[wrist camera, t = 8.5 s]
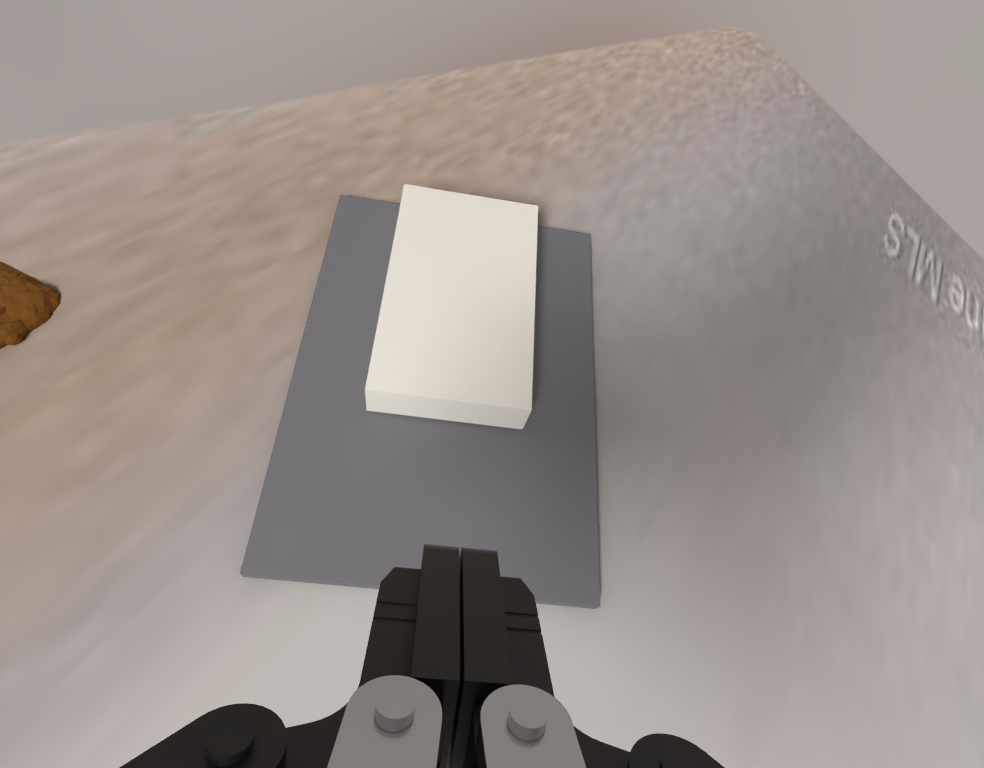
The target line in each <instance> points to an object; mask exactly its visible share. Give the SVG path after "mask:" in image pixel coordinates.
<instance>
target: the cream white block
mask: <svg viewBox="0 0 984 768" xmlns="http://www.w3.org/2000/svg"><path fill="white" fill-rule="evenodd" d="M537 228H538V206H536V205H530V204H524V203H518V202H512V201H505V200H499V199H493V198H487V197H481V196H474V195H468V194H462V193H456V192H450V191H444V190H437V189H431V188H425V187H419V186H413V185H406V184H404V188H403V193H402V199H401V204H400V209H399V214H398V219H397V225H396V230H395V235H394V240H393V245H392V251H391V256H390V261H389V266H388V271H387V277H386V282H385V287H384V292H383V298H382V303H381V308H380V313H379V318H378V324H377V329H376V334H375V339H374V344H373V350H372V355H371V360H370V365H369V370H368V376H367V381H366V386H365V397H366V410H367V411H374V412H382V413H391V414H399V415H407V416H415V417H424V418H432V419H440V420H448V421H456V422H465V423H473V424H481V425H489V426H498V427H506V428H514V429H523V427H524V425H525V423H526V421H527V419H528V417H529V415H530V413H531V411H532V384H533V353H534V322H535V290H536V259H537Z"/></svg>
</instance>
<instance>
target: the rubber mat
mask: <svg viewBox="0 0 984 768" xmlns="http://www.w3.org/2000/svg"><path fill="white" fill-rule="evenodd" d="M399 209H400V204H395V203H389V202H382V201H376V200H370V199H363V198H357V197H351V196H344V195H340V198H339V202H338V205H337V209H336V213H335V217H334V221H333V224H332V228H331V232H330V236H329V239H328V243H327V247H326V251H325V255H324V258H323V262H322V266H321V270H320V273H319V277H318V281H317V285H316V289H315V292H314V296H313V300H312V304H311V307H310V311H309V315H308V319H307V322H306V326H305V330H304V334H303V338H302V341H301V345H300V349H299V353H298V356H297V360H296V364H295V368H294V372H293V375H292V379H291V383H290V387H289V390H288V394H287V398H286V402H285V406H284V409H283V413H282V417H281V421H280V424H279V428H278V432H277V436H276V440H275V443H274V447H273V451H272V455H271V458H270V462H269V466H268V470H267V474H266V477H265V481H264V485H263V489H262V492H261V496H260V500H259V504H258V507H257V511H256V515H255V519H254V523H253V526H252V530H251V534H250V538H249V541H248V545H247V549H246V553H245V557H244V560H243V564H242V568H241V572H240V574H241V575H242V576H243V577H254V578H265V579H276V580H287V581H298V582H309V583H320V584H331V585H342V586H353V587H364V588H375V589H379V588H380V583H381V581H382V580H383V579H384V578H385V577H386V576H387V575H388V574H389V572H390V571H391V570H392V569H393V568H394V567H402V568H413V569H421V563H422V555H423V547H424V544H431V545H441V546H452V547H459V558H460V552H461V548H462V547H463V548H474V549H484V550H495V551H497V553H498V561H499V569H500V576H501V577H512V578H521V579H522V581H523V582H524V583H525V584H526V586H527V587H528V588H529V590H530V591H531V592H532V593H533V595H534V597H535V602H536V603H540V604H551V605H562V606H573V607H584V608H595V609H596V608H598V607H600V575H599V539H598V502H597V466H596V429H595V393H594V357H593V320H592V284H591V247H590V234H585V233H578V232H572V231H566V230H559V229H553V228H547V227H540V226H538V228H537V259H536V290H535V322H534V353H533V384H532V411H531V413H530V415H529V417H528V419H527V421H526V423H525V425H524V427H523V429H514V428H506V427H498V426H489V425H481V424H473V423H465V422H456V421H448V420H440V419H432V418H424V417H415V416H407V415H399V414H391V413H382V412H374V411H367V410H366V397H365V386H366V381H367V376H368V370H369V365H370V360H371V355H372V350H373V344H374V339H375V334H376V329H377V324H378V318H379V313H380V308H381V303H382V298H383V292H384V287H385V282H386V277H387V271H388V266H389V261H390V256H391V251H392V245H393V240H394V235H395V230H396V225H397V219H398V214H399Z"/></svg>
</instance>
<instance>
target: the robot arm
mask: <svg viewBox="0 0 984 768" xmlns="http://www.w3.org/2000/svg"><path fill="white" fill-rule="evenodd" d="M120 768H724V767H723V766H722V765H720V764H719V763H718V762H717V761H716V760H714V759H713V758H712V757H711V756H709V755H708V754H707V753H706V752H704V751H703V750H702V749H700V748H699V747H698V746H696V745H694V744H693V743H691V742H689V741H687V740H685V739H682V738H680V737H677V736H674V735H669V734H651V735H647V736H644V737H642V738H641V739H639V740H638V741H637V742H636V743H635V744H634V746H633V748H632V750H631V752H628V751H625V750H622V749H619V748H617V747H614V746H611V745H608V744H605V743H603V742H600V741H598V740H595V739H593V738H591V737H589V736H587V735H586V734H584V733H582V732H581V731H580V730H578V729H577V728H576V727H574V726H573V723H572V720H571V718H570V716H569V714H568V712H567V710H566V709H565V707H564V706H563V705H562V704H561V703H560V702H559V701H558V700H557V699H556V698H555V697H554V693H553V688H552V683H551V678H550V673H549V668H548V663H547V658H546V653H545V648H544V643H543V638H542V634H541V628H540V623H539V618H538V613H537V608H536V602H535V597H534V595H533V593H532V592H531V591H530V590H529V588H528V587H527V586H526V584H525V583H524V582H523V581H522V579H521V578H512V577H501V576H500V569H499V561H498V553H497V551H495V550H484V549H474V548H463V547H462V548H461V552H460V558H459V547H452V546H441V545H431V544H424V547H423V555H422V563H421V569H413V568H402V567H394V568H393V569H392V570H391V571H390V572H389V574H388V575H387V576H386V577H385V578H384V579H383V580H382V581H381V583H380V588H379V593H378V597H377V603H376V607H375V612H374V617H373V622H372V626H371V631H370V636H369V641H368V646H367V651H366V655H365V660H364V665H363V670H362V675H361V680H360V683H359V687H358V689H357V690H356V691H355V692H354V694H353V695H352V697H351V698H350V700H349V702H348V703H347V704H346V705H345V706H344V707H343V708H341V709H340V710H339V711H337V712H336V713H334V714H332V715H330V716H328V717H326V718H324V719H321V720H318V721H315V722H311V723H307V724H302V725H297V726H293V727H288V728H285V726H284V724H283V722H282V720H281V719H280V718H279V717H278V715H277V714H275V713H274V712H273V711H271V710H270V709H267V708H265V707H263V706H259V705H256V704H233V705H227V706H224V707H220V708H217V709H215V710H212V711H210V712H208V713H206V714H204V715H203V716H201V717H199V718H198V719H196V720H194V721H193V722H191V723H190V724H188V725H186V726H185V727H183V728H182V729H180V730H178V731H177V732H175V733H174V734H172V735H171V736H169V737H167V738H166V739H164V740H163V741H161V742H159V743H158V744H156V745H155V746H153V747H152V748H150V749H148V750H147V751H145V752H144V753H142V754H140V755H139V756H137V757H136V758H134V759H132V760H131V761H129V762H128V763H126V764H125V765H123V766H121V767H120Z"/></svg>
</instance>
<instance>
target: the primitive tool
mask: <svg viewBox="0 0 984 768" xmlns="http://www.w3.org/2000/svg"><path fill="white" fill-rule="evenodd" d="M59 304H60V295H59V294H58V292H57V291H56V290H55V289H52V288H49V287H46V286H44V285H43V284H42V283H41V282H40V281H38V280H37V279H35V278H33V277H31V276H29V275H27V274H24V273H22V272H20V271H18V270H16V269H14V268H12V267H10V266H8V265H6V264H4V263H2V262H0V349H1V348H3V347H4V346H6V345H15V344H18V343H20V342H22V340H23V337H24V336H25V335H26V334H27V333H28V332H29V331H31V330H32V329H36V328H38V327H39V326H41V325H42V324H44V323H45V322H47V321H48V320H49V319H50V314H51V313H52V312H53V311H55V310H56V308H57V307H58V306H59Z"/></svg>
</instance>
